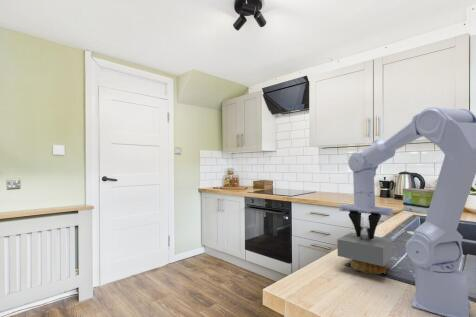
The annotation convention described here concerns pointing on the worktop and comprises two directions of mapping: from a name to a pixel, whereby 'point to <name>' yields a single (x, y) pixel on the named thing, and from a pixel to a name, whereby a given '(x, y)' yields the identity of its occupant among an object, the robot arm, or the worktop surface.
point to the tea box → (417, 199)
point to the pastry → (367, 267)
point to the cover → (365, 247)
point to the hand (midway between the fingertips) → (365, 237)
